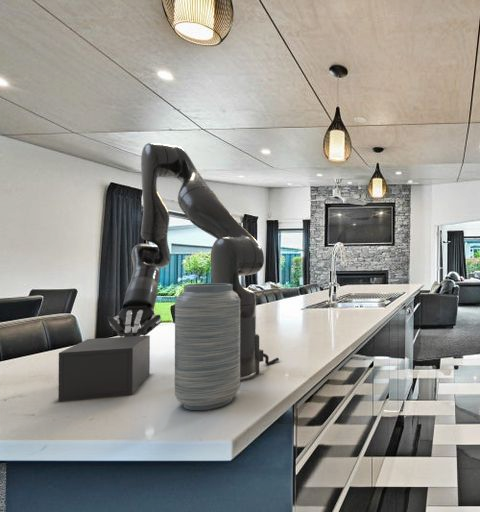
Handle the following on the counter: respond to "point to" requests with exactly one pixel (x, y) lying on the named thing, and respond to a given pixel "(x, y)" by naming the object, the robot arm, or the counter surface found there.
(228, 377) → the vase
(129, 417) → the counter surface
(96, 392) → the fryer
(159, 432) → the counter surface
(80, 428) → the counter surface
